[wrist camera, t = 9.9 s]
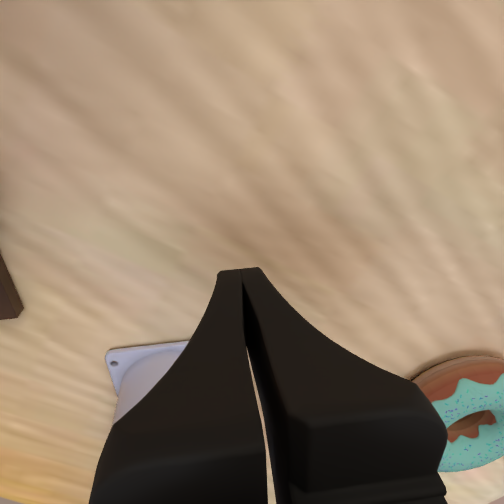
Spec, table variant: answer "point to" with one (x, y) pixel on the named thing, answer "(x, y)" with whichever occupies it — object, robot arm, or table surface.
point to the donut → (468, 409)
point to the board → (8, 295)
